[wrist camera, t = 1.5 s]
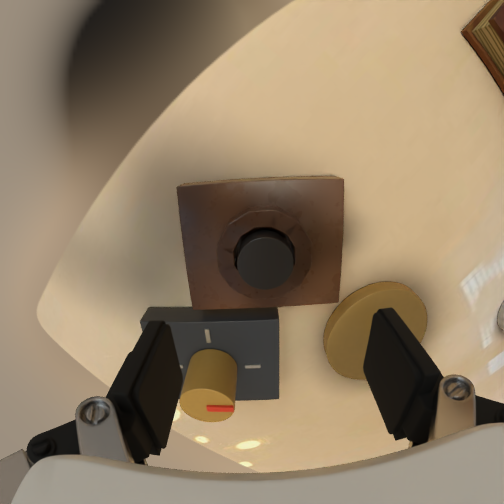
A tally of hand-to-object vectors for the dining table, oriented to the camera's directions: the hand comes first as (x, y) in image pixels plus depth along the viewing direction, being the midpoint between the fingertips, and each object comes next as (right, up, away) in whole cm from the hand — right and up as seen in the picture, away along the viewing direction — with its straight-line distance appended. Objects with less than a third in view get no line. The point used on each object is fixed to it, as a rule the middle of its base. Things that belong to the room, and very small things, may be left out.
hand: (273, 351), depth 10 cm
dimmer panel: (-4, -6, +17) cm, 18 cm away
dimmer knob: (-4, -7, +15) cm, 17 cm away
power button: (0, +3, +10) cm, 10 cm away
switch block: (0, +5, +13) cm, 14 cm away
